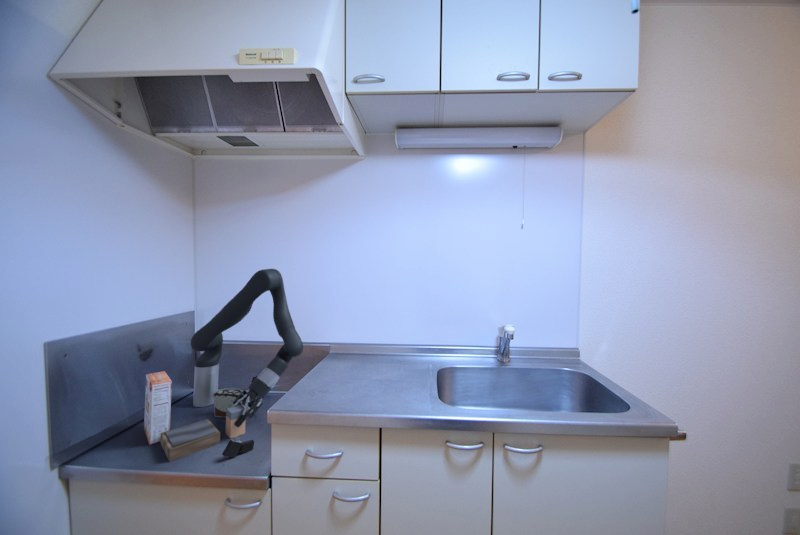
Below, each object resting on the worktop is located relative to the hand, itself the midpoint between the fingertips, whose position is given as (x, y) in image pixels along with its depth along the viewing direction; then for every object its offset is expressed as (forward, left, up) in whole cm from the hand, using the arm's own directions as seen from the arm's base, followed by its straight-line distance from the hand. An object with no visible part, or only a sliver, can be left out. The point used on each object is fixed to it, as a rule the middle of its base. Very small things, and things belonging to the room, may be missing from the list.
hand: (231, 421), depth 106 cm
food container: (-17, +5, -5) cm, 18 cm away
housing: (0, +1, -5) cm, 5 cm away
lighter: (+14, -3, -5) cm, 15 cm away
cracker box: (-19, -19, -5) cm, 27 cm away
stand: (-4, -12, -5) cm, 13 cm away
